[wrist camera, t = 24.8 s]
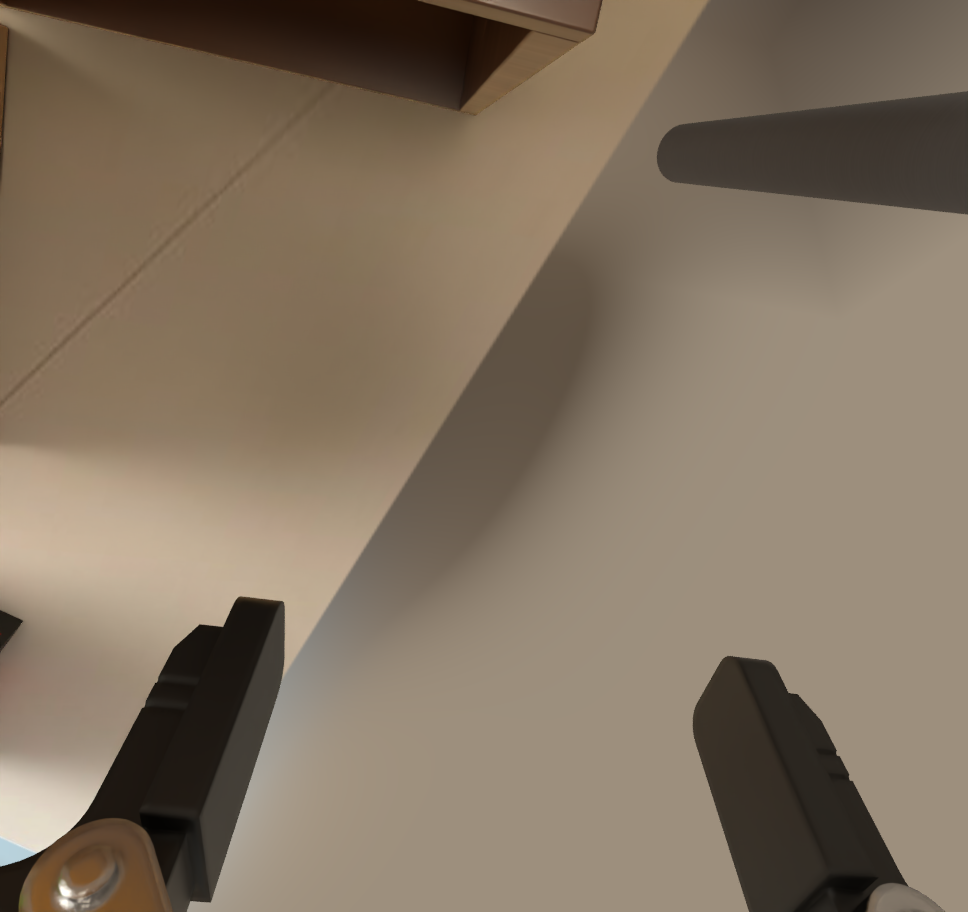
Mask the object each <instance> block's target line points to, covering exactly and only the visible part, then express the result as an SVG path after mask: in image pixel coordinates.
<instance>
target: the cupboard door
mask: <svg viewBox="0 0 968 912" xmlns="http://www.w3.org/2000/svg"><path fill="white" fill-rule="evenodd" d="M7 35H8V28H7V27H6V26H4V25H1V24H0V151H1V135H2V118H3V102H4V85H5V69H6V52H7Z"/></svg>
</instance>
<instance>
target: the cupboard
mask: <svg viewBox="0 0 968 912" xmlns="http://www.w3.org/2000/svg"><path fill="white" fill-rule="evenodd" d="M602 1H603V0H0V6H2V7H6V8H11V9H15V10H19V11H24V12H28V13H32V14H37V15H41V16H45V17H50V18H54V19H58V20H63V21H67V22H71V23H76V24H80V25H84V26H89V27H93V28H97V29H102V30H106V31H110V32H115V33H119V34H123V35H128V36H132V37H136V38H141V39H145V40H150V41H154V42H158V43H163V44H167V45H171V46H176V47H180V48H184V49H189V50H193V51H197V52H202V53H206V54H210V55H215V56H219V57H223V58H228V59H232V60H236V61H241V62H245V63H249V64H254V65H258V66H262V67H267V68H271V69H275V70H280V71H284V72H288V73H293V74H297V75H301V76H306V77H310V78H314V79H319V80H323V81H327V82H332V83H336V84H340V85H345V86H349V87H354V88H358V89H362V90H367V91H371V92H375V93H380V94H384V95H388V96H393V97H397V98H401V99H406V100H410V101H414V102H419V103H423V104H427V105H432V106H436V107H440V108H445V109H449V110H453V111H458V112H462V113H466V114H471V115H477V114H478V113H480V112H481V111H483V110H484V109H485V108H487V107H488V106H490V105H491V104H493V103H494V102H496V101H497V100H498V99H500V98H501V97H503V96H504V95H506V94H507V93H509V92H510V91H511V90H513V89H514V88H516V87H517V86H519V85H520V84H522V83H523V82H524V81H526V80H527V79H529V78H530V77H532V76H533V75H535V74H536V73H538V72H539V71H540V70H542V69H543V68H545V67H546V66H548V65H549V64H551V63H552V62H553V61H555V60H556V59H558V58H559V57H561V56H562V55H564V54H565V53H566V52H568V51H569V50H571V49H572V48H574V47H575V46H577V45H578V44H579V43H581V42H583V41H584V40H586V39H587V38H589V37H590V36H592V35H593V34H594V33H595V31H596V27H597V23H598V19H599V14H600V10H601V5H602Z"/></svg>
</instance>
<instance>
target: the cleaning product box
mask: <svg viewBox="0 0 968 912" xmlns="http://www.w3.org/2000/svg"><path fill="white" fill-rule="evenodd" d="M22 622H23V621H22V620H20V619H18V618H15V617H13V616H11V615H9V614H7V613H5V612H2V611H0V652H1V651H2V649H3V648H4V647H5V645H6V644H7V642H8V641H9V640H10V638H11V637H12V636H13V634H14V633H15V631H16V630H17V629H18V627H19V626H20V625H21V623H22Z"/></svg>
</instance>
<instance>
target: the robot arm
mask: <svg viewBox="0 0 968 912" xmlns="http://www.w3.org/2000/svg"><path fill="white" fill-rule="evenodd" d="M284 641H285V606H284V602H283V601H275V600H267V599H258V598H250V597H242V596H240V597H238V598H237V599H236V601H235V603H234V605H233V607H232V609H231V611H230V613H229V615H228V618H227V620H226V622H225V624H224V626H223V627H218V626H209V625H199V626H197V627H196V628H195V629H194V630H193V631H192V632H191V633H190V634H189V635H188V636H186V637H185V638H184V639H183V640H182V641H181V642H180V643H179V644H178V645H176V646H175V647H174V648H173V650H172V652H171V654H170V656H169V658H168V660H167V662H166V664H165V665H164V667H163V669H162V671H161V673H160V675H159V677H158V682H157V683H155V685H154V686H153V688H152V690H151V692H150V694H149V696H148V698H147V700H146V704H145V707H144V708H142V709H141V711H140V713H139V715H138V717H137V719H136V721H135V723H134V724H133V726H132V728H131V730H130V732H129V734H128V736H127V738H126V740H125V742H124V743H123V745H122V747H121V749H120V751H119V753H118V755H117V757H116V759H115V761H114V762H113V764H112V766H111V768H110V770H109V772H108V774H107V776H106V778H105V780H104V781H103V783H102V785H101V787H100V789H99V791H98V793H97V795H96V797H95V799H94V800H93V802H92V804H91V805H90V807H89V809H88V810H87V812H86V813H85V814H84V815H83V817H82V818H81V819H80V821H79V822H78V823H77V824H76V825H75V826H74V827H73V828H72V829H71V830H70V831H69V832H68V833H66V834H65V835H64V836H62V837H61V838H59V839H58V840H57V841H56V842H54V843H53V844H52V845H51V846H49V847H48V848H46V849H44V850H42V851H41V852H39V853H37V854H35V855H33V856H31V857H29V858H26V859H24V860H21V861H19V862H15V863H12V864H8V865H5V866H1V867H0V912H187V909H188V906H189V903H190V901H197V902H211V900H212V897H213V894H214V891H215V888H216V884H217V881H218V879H219V875H220V872H221V869H222V866H223V863H224V860H225V857H226V854H227V850H228V847H229V844H230V841H231V838H232V835H233V832H234V829H235V826H236V823H237V819H238V816H239V813H240V810H241V807H242V804H243V801H244V798H245V795H246V791H247V788H248V785H249V782H250V779H251V776H252V773H253V769H254V767H255V763H256V760H257V757H258V754H259V751H260V748H261V745H262V742H263V739H264V736H265V733H266V729H267V726H268V723H269V720H270V717H271V714H272V711H273V708H274V704H275V701H276V698H277V694H278V691H279V688H280V684H281V679H282V674H283V667H284ZM693 733H694V739H695V742H696V746H697V749H698V752H699V755H700V758H701V761H702V764H703V768H704V771H705V774H706V777H707V780H708V783H709V786H710V790H711V793H712V796H713V799H714V802H715V805H716V808H717V812H718V815H719V818H720V821H721V824H722V828H723V831H724V834H725V837H726V840H727V843H728V846H729V850H730V853H731V856H732V859H733V862H734V865H735V868H736V872H737V875H738V878H739V881H740V884H741V887H742V891H743V894H744V897H745V900H746V903H747V906H748V909H749V912H945V911H944V910H943V909H942V908H941V907H940V906H938V905H937V904H936V903H935V902H934V901H932V900H931V899H930V898H928V897H927V896H925V895H924V894H922V893H921V892H919V891H917V890H915V889H913V888H911V887H909V886H908V885H907V883H906V882H905V880H904V879H903V877H902V875H901V873H900V872H899V870H898V868H897V866H896V864H895V862H894V860H893V858H892V856H891V854H890V852H889V850H888V848H887V847H886V845H885V843H884V841H883V839H882V837H881V835H880V833H879V831H878V829H877V827H876V826H875V823H874V821H873V820H872V818H871V816H870V814H869V812H868V810H867V808H866V806H865V804H864V803H863V800H862V798H861V796H860V795H859V793H858V791H857V789H856V787H855V785H854V783H853V781H850V780H849V773H848V771H847V770H846V768H845V766H844V764H843V762H842V760H841V758H840V756H837V755H836V751H837V750H836V748H835V746H834V744H833V743H832V741H831V739H830V737H829V735H828V733H827V731H826V729H825V727H824V725H823V723H822V721H821V720H820V719H819V718H818V717H817V716H816V714H815V713H814V712H813V711H812V710H811V709H810V708H809V707H808V706H807V704H805V702H804V701H803V700H802V699H801V698H800V697H799V695H798V694H791V693H788V691H787V689H786V687H785V685H784V683H783V681H782V679H781V677H780V675H779V673H778V671H777V669H776V667H775V666H774V665H773V664H772V663H771V662H769V661H766V660H758V659H750V658H740V657H733V656H727V657H725V658H724V659H723V660H722V661H721V662H720V664H719V666H718V668H717V669H716V671H715V673H714V675H713V676H712V678H711V680H710V682H709V683H708V685H707V687H706V689H705V690H704V692H703V694H702V696H701V697H700V699H699V701H698V703H697V705H696V707H695V710H694V715H693Z"/></svg>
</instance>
